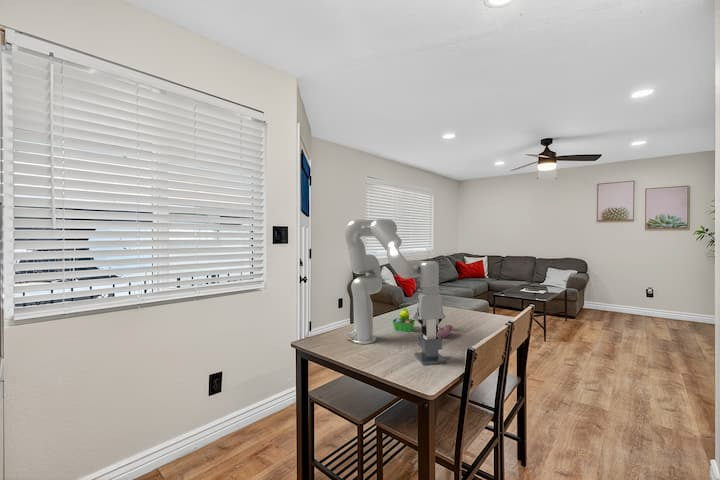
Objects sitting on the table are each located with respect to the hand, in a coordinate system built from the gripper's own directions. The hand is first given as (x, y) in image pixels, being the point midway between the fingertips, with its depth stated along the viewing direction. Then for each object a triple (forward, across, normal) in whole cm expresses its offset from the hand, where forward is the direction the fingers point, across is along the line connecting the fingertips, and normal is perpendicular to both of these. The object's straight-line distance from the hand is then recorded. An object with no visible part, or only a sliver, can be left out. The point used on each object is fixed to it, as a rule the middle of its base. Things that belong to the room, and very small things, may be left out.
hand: (429, 333), depth 131 cm
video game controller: (+11, +19, +26) cm, 34 cm away
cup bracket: (+11, 0, 0) cm, 11 cm away
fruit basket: (+11, +2, +41) cm, 42 cm away
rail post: (+4, 0, 0) cm, 4 cm away
